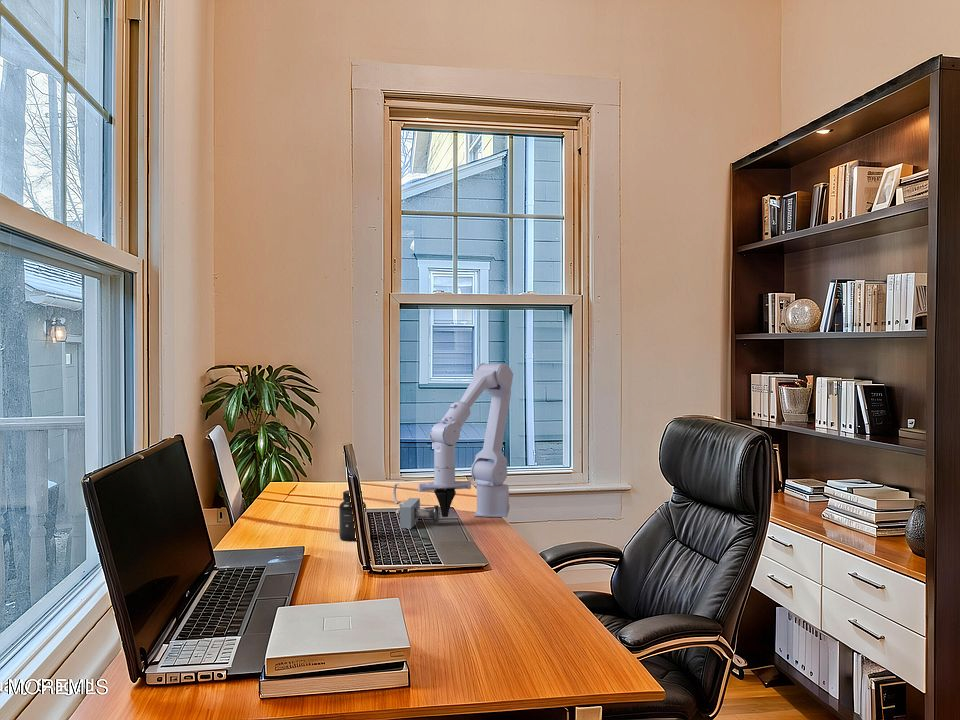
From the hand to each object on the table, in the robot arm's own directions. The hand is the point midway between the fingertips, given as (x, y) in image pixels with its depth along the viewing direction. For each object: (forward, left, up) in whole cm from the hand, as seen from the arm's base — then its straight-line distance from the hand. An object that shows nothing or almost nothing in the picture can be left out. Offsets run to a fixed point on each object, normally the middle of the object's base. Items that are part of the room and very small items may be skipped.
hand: (444, 516), depth 201 cm
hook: (+16, -20, -3) cm, 25 cm away
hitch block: (+10, 0, -2) cm, 10 cm away
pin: (+6, 0, -2) cm, 7 cm away
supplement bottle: (+21, +16, -3) cm, 27 cm away
